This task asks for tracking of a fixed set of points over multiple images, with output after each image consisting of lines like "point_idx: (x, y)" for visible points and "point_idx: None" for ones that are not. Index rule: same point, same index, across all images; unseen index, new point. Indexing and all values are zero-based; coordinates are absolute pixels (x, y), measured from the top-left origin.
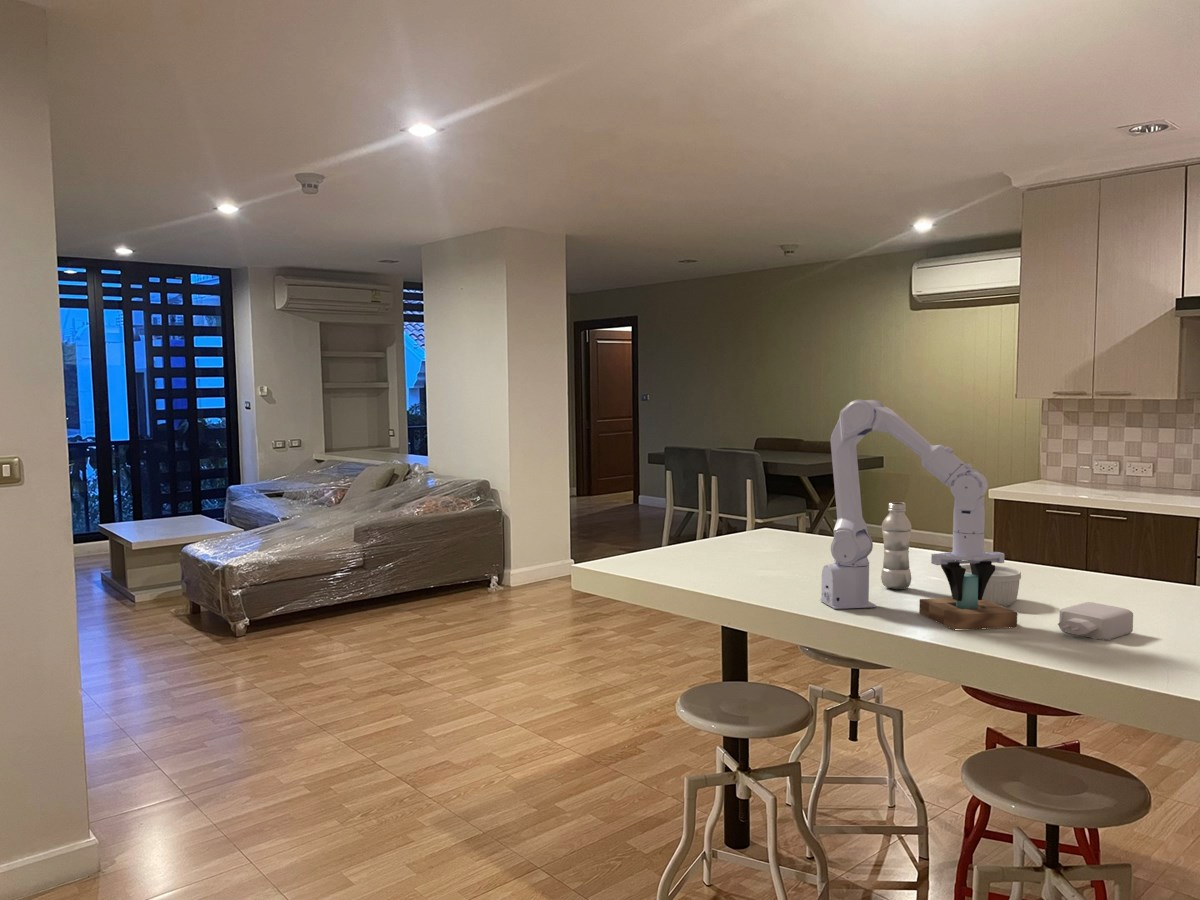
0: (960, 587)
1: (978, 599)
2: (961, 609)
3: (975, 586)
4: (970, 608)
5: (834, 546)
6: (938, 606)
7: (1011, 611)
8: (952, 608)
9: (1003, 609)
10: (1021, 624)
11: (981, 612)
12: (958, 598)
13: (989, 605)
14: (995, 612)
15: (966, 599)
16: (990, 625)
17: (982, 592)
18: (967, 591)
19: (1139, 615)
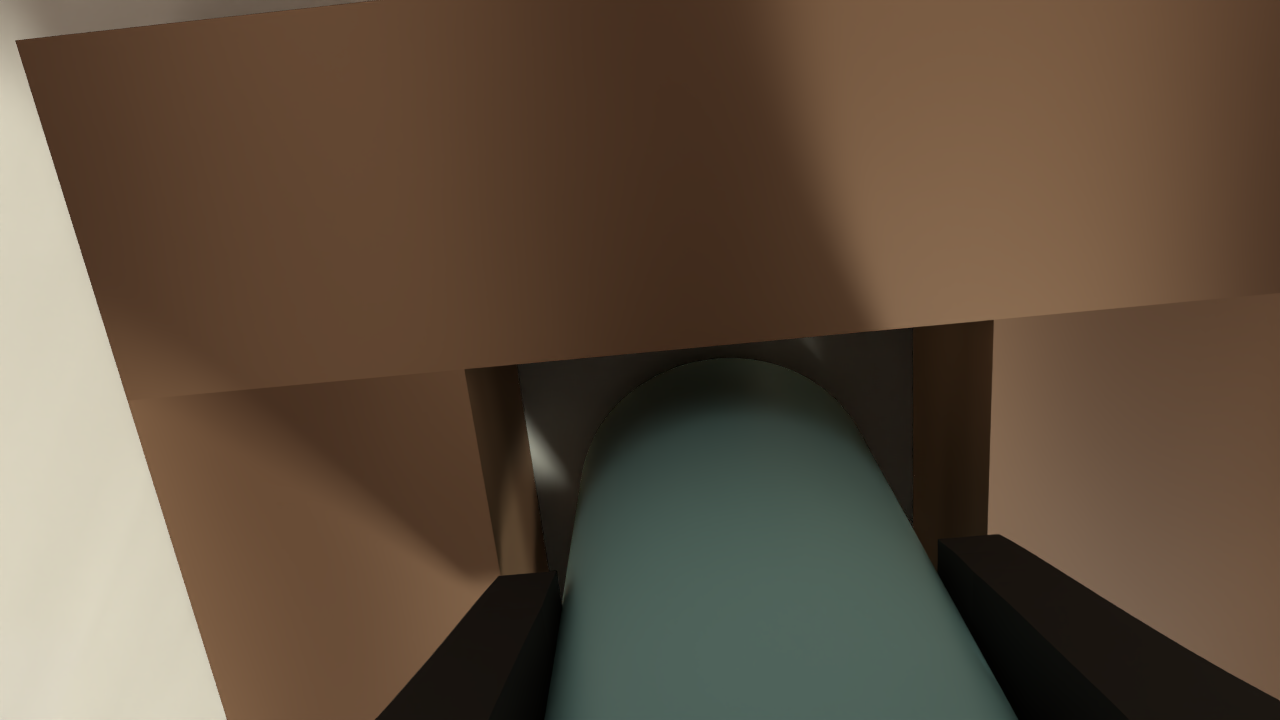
0: (1157, 676)
1: (557, 588)
2: (1004, 311)
3: (696, 698)
4: (768, 412)
5: None
6: (1272, 536)
7: (114, 103)
8: (1124, 389)
9: (215, 268)
10: (45, 222)
11: (751, 55)
12: (1026, 552)
13: (354, 552)
14: (466, 42)
15: (870, 509)
16: None
17: (470, 647)
18: (899, 611)
19: None
